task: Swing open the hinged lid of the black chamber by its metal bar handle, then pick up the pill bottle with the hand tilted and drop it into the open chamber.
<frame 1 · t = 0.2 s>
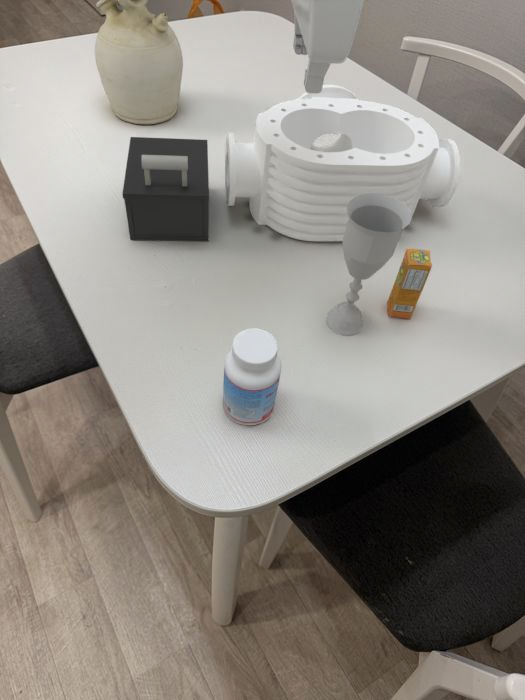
hand: (306, 70, 58), 26 cm above the table, tool pointing down, fingers open, 8 cm apart
chalice: (344, 322, 70), on the table
housing: (327, 201, 87), on the table
supplement box: (397, 311, 72), on the table
pill bottle: (248, 405, 60), on the table
chamber lid: (167, 153, 73), point 10 cm above the table, hinge at 0.0°
jug: (144, 110, 100), on the table
chamber: (171, 212, 81), on the table
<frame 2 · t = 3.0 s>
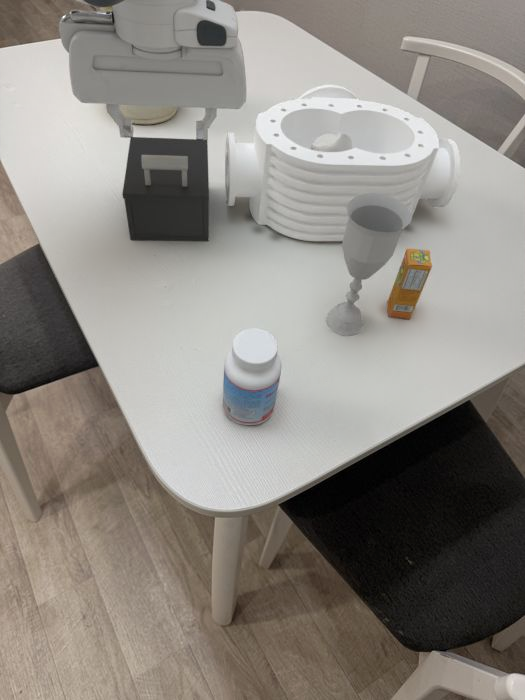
hand: (164, 136, 66), 16 cm above the table, tool pointing down, fingers open, 8 cm apart
nothing on the table moved.
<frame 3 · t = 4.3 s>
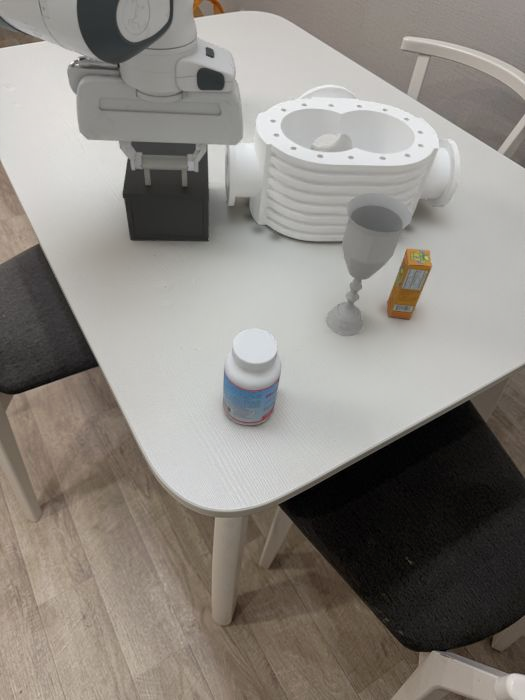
hand: (165, 168, 69), 11 cm above the table, tool pointing down, fingers closed on chamber lid, 6 cm apart
chamber lid: (167, 153, 73), point 10 cm above the table, hinge at 0.0°, touching gripper
everything else where it was.
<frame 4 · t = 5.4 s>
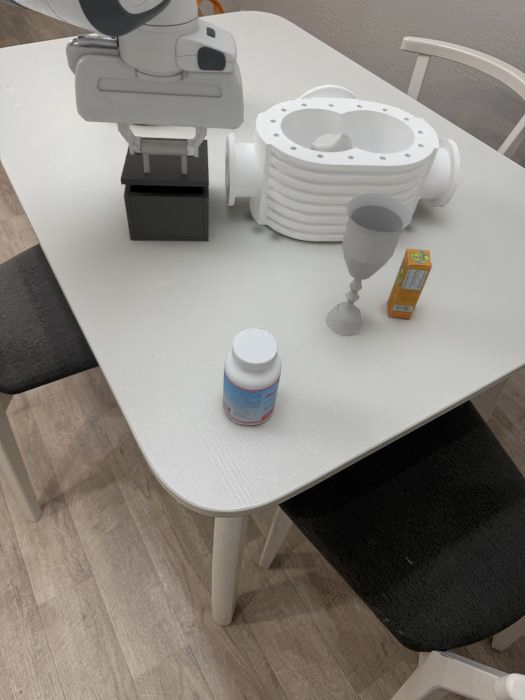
hand: (165, 153, 68), 13 cm above the table, tool pointing down, fingers closed on chamber lid, 6 cm apart
chamber lid: (166, 145, 72), point 11 cm above the table, hinge at 8.5°, touching gripper
everything else where it was.
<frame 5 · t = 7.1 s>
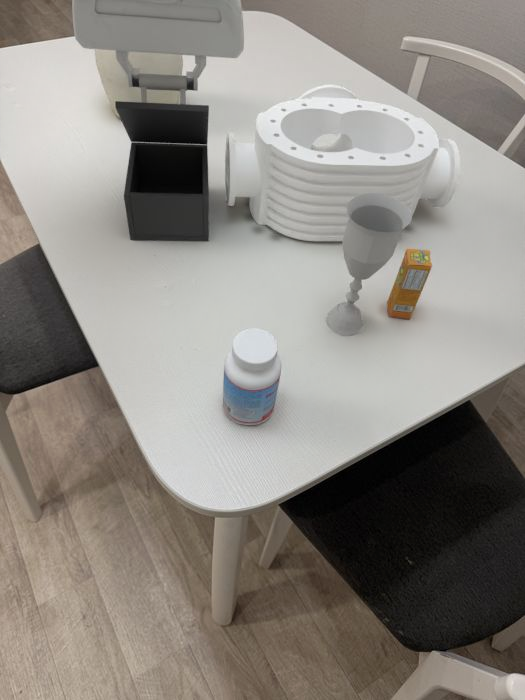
hand: (164, 87, 67), 19 cm above the table, tool pointing down, fingers closed on chamber lid, 6 cm apart
chamber lid: (166, 109, 72), point 15 cm above the table, hinge at 46.0°, touching gripper
everything else where it was.
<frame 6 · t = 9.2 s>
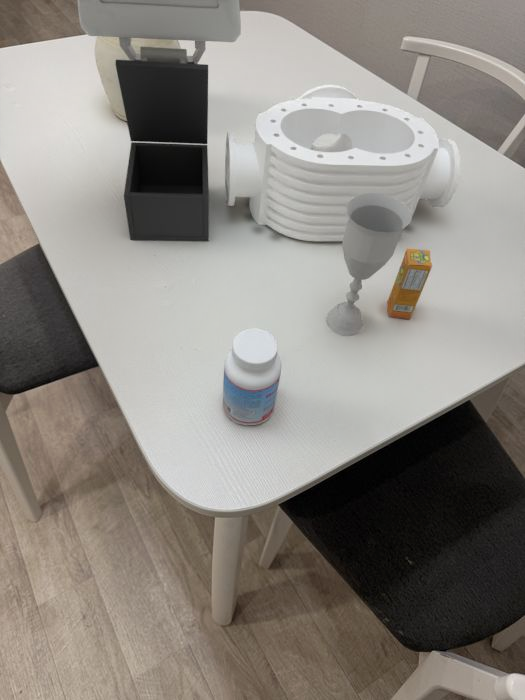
hand: (165, 71, 71), 19 cm above the table, tool pointing down, fingers closed on chamber lid, 6 cm apart
chamber lid: (166, 93, 73), point 16 cm above the table, hinge at 68.4°, touching gripper
everything else where it was.
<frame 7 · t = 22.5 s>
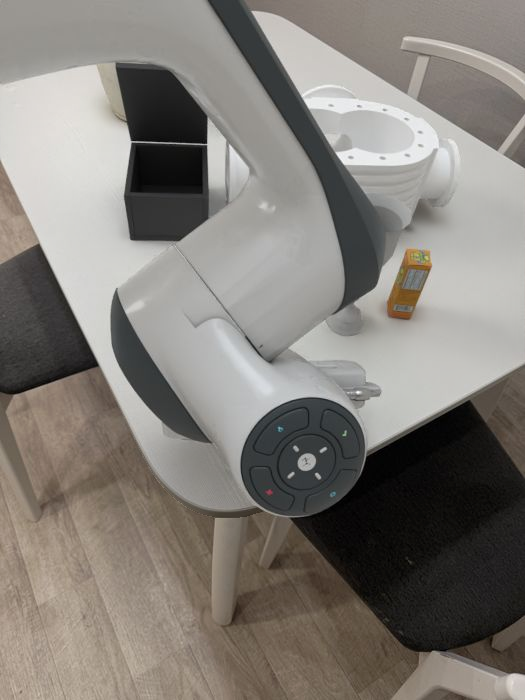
hand: (251, 370, 56), 6 cm above the table, tool tilted 45°, fingers closed on pill bottle, 6 cm apart
pill bottle: (248, 405, 60), on the table, touching gripper
chamber lid: (166, 94, 72), point 16 cm above the table, hinge at 66.6°
everything else where it was.
when the fingers open (12 cm above the table, at t = 32.0 s): pill bottle drops 1 cm, resting on chamber, chamber lid.
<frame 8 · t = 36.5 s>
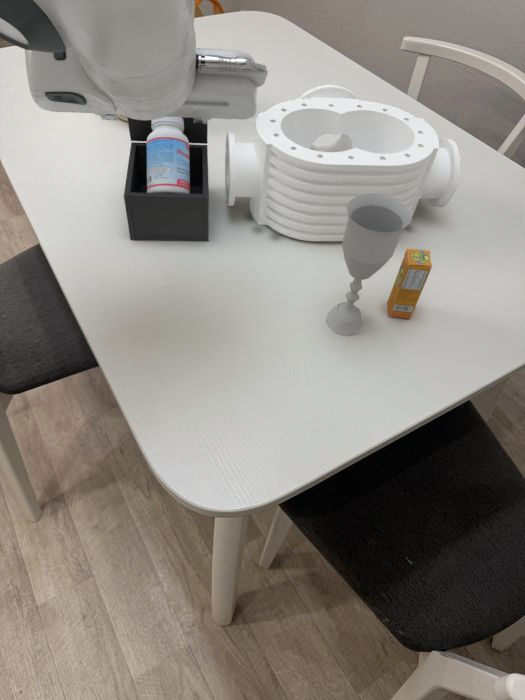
hand: (155, 114, 54), 23 cm above the table, tool tilted 45°, fingers open, 8 cm apart
pill bottle: (168, 199, 74), point 6 cm above the table, touching chamber, chamber lid
chamber lid: (166, 88, 74), point 16 cm above the table, hinge at 79.9°, touching pill bottle
everything else where it was.
at the end: chamber lid at +80° (first picture: +0°); pill bottle inside the target area in the chamber (4.5 cm from its centre), point 5.6 cm above the chamber's base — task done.
